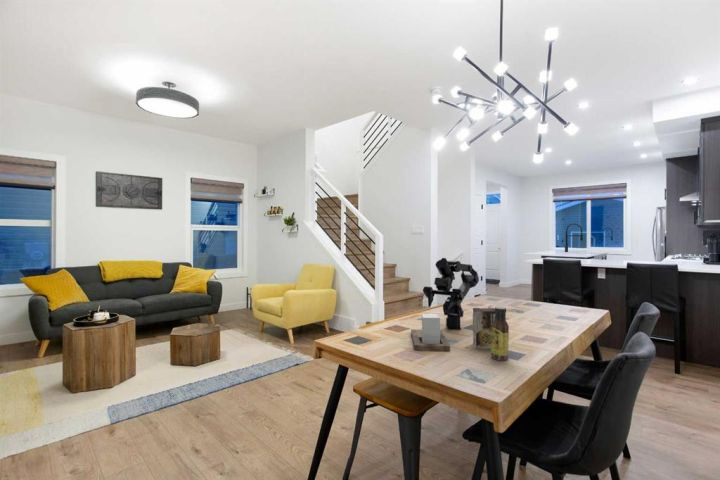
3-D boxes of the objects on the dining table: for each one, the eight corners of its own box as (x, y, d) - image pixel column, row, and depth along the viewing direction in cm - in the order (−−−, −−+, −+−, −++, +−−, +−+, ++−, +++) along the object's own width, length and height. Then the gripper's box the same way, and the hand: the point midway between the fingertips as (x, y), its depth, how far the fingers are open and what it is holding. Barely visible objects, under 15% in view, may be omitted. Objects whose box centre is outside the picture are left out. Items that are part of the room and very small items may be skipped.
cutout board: (441, 334, 171) (441, 330, 171) (449, 351, 147) (449, 346, 147) (411, 333, 172) (411, 329, 172) (414, 350, 148) (414, 345, 148)
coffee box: (493, 344, 155) (494, 307, 155) (498, 349, 149) (498, 311, 148) (472, 344, 156) (472, 307, 156) (475, 348, 150) (475, 310, 149)
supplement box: (438, 342, 159) (438, 313, 158) (440, 347, 151) (440, 317, 151) (421, 341, 160) (421, 313, 159) (422, 346, 152) (422, 317, 152)
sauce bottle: (488, 355, 141) (488, 305, 141) (503, 355, 142) (503, 305, 141) (495, 361, 135) (496, 309, 134) (511, 361, 136) (512, 308, 135)
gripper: (423, 270, 176) (414, 296, 167) (461, 271, 165) (453, 299, 157) (430, 283, 183) (421, 309, 174) (466, 286, 172) (459, 313, 163)
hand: (438, 307), depth 167 cm, fingers open, 9 cm apart
